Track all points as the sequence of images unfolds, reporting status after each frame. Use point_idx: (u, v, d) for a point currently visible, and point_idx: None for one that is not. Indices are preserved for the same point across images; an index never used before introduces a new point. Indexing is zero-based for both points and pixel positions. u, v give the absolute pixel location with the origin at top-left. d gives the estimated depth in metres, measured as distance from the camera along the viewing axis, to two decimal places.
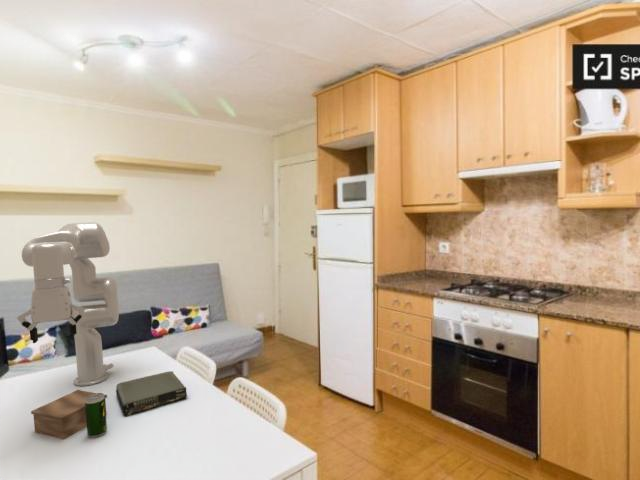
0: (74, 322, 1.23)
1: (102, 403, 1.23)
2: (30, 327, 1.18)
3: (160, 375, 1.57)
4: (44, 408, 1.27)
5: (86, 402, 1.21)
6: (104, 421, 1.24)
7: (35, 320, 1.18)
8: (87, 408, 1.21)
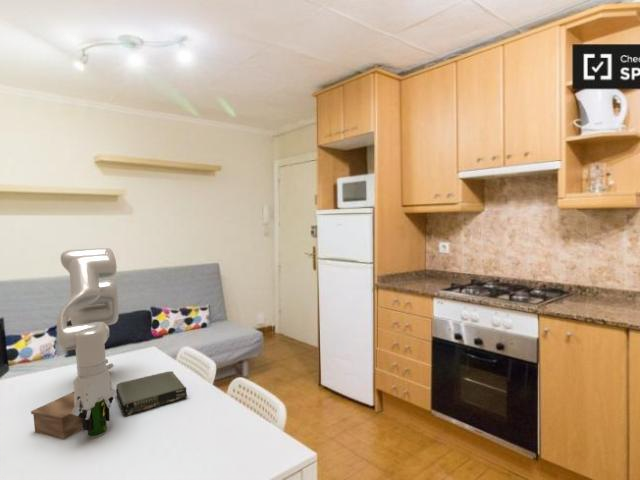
0: (109, 405, 1.27)
1: (102, 403, 1.23)
2: (87, 416, 1.20)
3: (160, 375, 1.57)
4: (44, 408, 1.27)
5: None
6: (104, 421, 1.24)
7: (88, 407, 1.19)
8: None
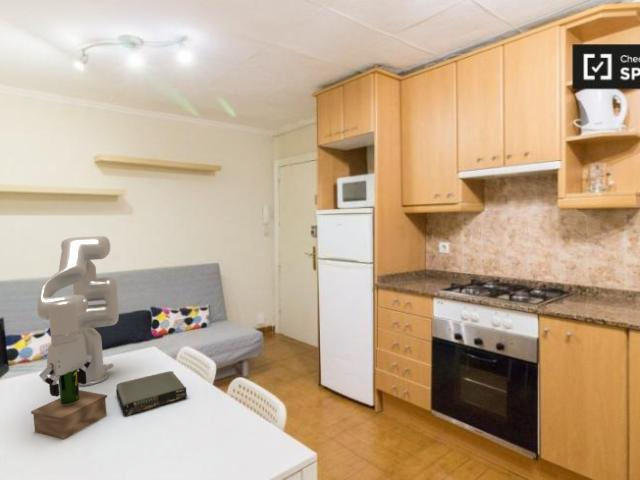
0: (86, 369, 1.35)
1: (74, 373, 1.30)
2: (54, 382, 1.25)
3: (160, 375, 1.57)
4: (44, 408, 1.27)
5: None
6: (76, 390, 1.30)
7: (60, 373, 1.25)
8: (60, 377, 1.28)
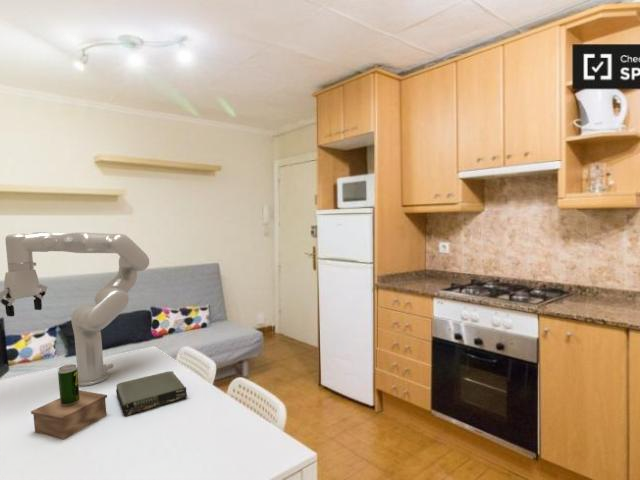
0: (41, 297, 1.52)
1: (74, 373, 1.29)
2: (9, 303, 1.42)
3: (160, 375, 1.57)
4: (44, 408, 1.27)
5: (59, 372, 1.28)
6: (76, 390, 1.30)
7: (15, 296, 1.43)
8: (60, 377, 1.28)
